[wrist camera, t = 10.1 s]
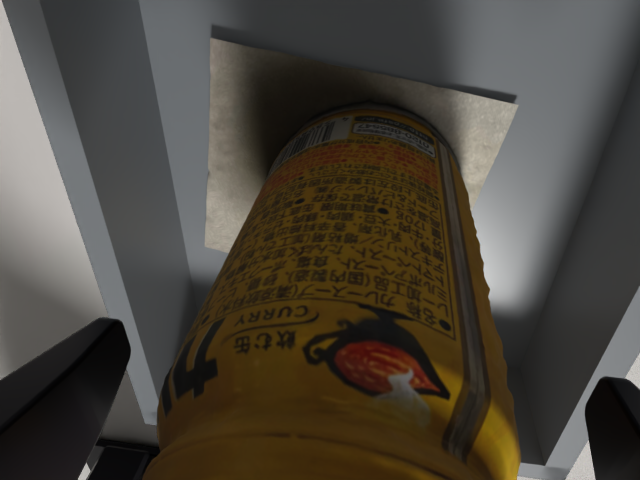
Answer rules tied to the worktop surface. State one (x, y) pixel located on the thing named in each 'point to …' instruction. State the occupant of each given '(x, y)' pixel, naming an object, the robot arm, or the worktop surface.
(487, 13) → the bin
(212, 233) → the condiment
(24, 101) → the worktop surface
